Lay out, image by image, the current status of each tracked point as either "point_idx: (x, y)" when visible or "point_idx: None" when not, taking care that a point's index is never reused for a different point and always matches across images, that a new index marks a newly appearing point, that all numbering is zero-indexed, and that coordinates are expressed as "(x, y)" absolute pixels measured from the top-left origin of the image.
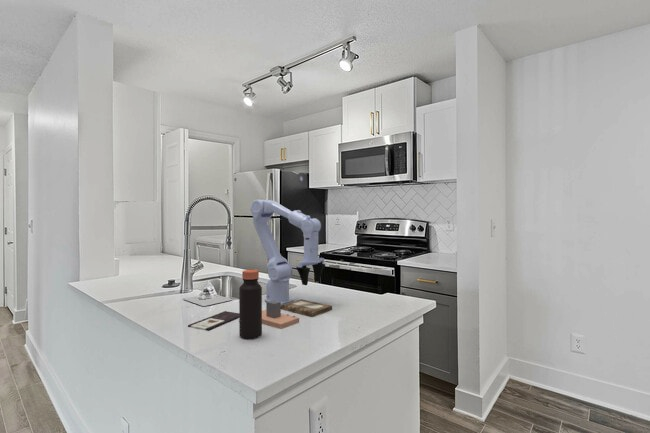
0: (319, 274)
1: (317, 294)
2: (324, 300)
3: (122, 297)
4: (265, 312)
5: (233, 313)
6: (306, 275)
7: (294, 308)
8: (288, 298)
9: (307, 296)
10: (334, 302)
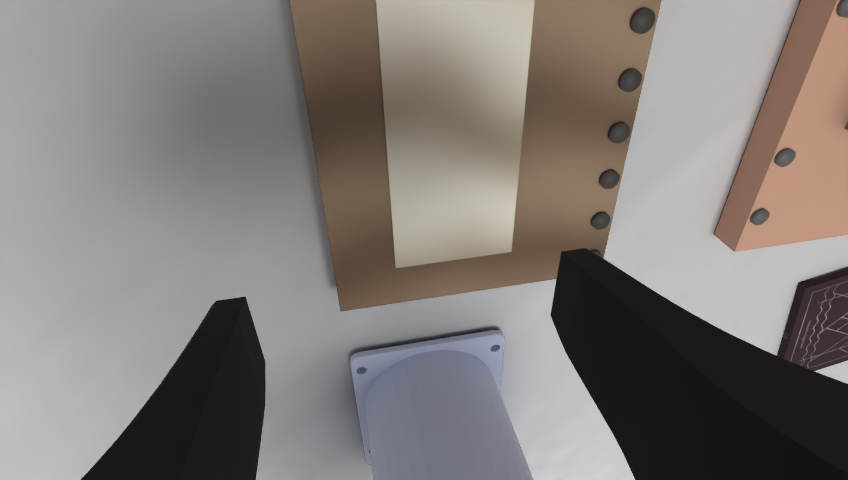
0: (209, 412)
1: (10, 399)
2: (76, 216)
3: None
4: (809, 201)
5: (805, 331)
6: (745, 348)
7: (627, 127)
8: (407, 373)
9: (149, 394)
10: (2, 75)
